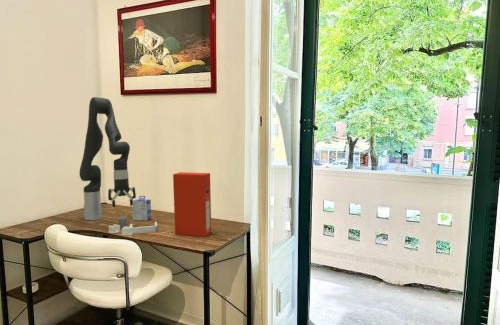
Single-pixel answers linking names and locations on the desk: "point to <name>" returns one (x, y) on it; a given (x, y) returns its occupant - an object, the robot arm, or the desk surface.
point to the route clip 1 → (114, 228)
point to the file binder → (192, 204)
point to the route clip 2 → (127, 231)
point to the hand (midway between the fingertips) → (122, 206)
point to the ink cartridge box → (141, 209)
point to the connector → (122, 221)
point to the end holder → (144, 229)
